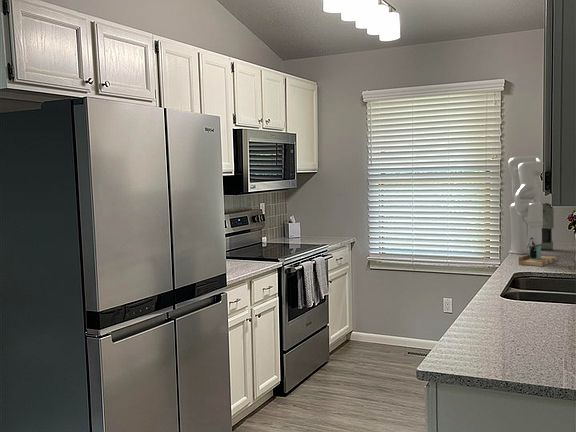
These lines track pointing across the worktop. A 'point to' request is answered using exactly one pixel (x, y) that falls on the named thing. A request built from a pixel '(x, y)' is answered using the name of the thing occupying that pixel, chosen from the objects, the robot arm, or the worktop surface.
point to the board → (536, 260)
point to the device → (547, 227)
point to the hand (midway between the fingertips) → (535, 256)
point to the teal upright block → (538, 252)
